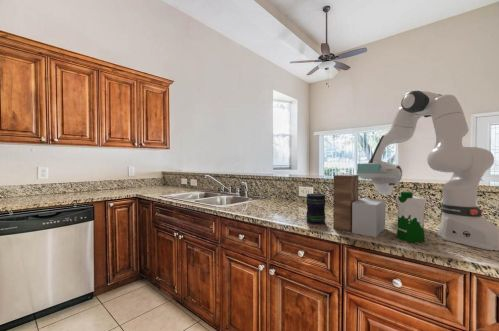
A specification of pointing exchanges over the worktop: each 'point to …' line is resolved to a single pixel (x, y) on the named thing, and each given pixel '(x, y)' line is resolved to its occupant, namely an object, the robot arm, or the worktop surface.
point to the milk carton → (410, 217)
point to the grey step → (368, 217)
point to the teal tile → (368, 167)
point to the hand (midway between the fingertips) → (375, 166)
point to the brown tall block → (344, 200)
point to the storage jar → (315, 209)
